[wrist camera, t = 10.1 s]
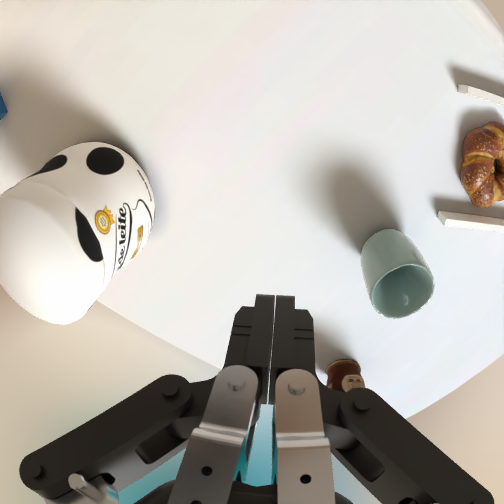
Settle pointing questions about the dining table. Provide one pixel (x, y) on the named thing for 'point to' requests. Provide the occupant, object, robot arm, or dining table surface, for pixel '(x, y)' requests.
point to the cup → (395, 274)
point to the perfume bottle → (2, 108)
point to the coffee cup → (344, 376)
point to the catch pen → (467, 219)
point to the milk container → (73, 229)
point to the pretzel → (484, 164)
